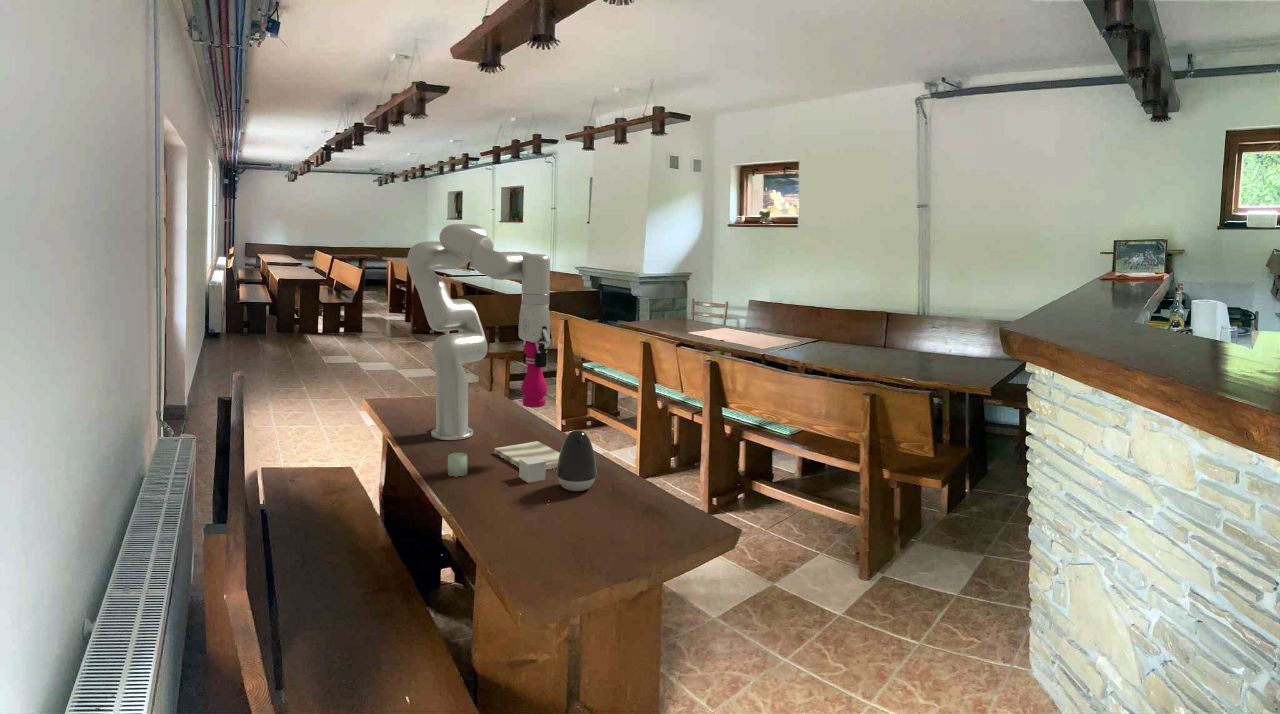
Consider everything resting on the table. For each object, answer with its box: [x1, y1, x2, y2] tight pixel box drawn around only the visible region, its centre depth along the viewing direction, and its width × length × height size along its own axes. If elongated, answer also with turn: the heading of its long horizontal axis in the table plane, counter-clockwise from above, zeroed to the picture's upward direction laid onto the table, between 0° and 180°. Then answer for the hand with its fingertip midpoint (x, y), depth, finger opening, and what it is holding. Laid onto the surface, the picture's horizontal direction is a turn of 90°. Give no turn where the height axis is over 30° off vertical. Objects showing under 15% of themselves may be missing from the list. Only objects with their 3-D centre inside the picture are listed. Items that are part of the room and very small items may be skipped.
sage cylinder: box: [447, 452, 468, 478], centre depth 194 cm, size 5×5×5 cm
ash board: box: [494, 440, 560, 471], centre depth 209 cm, size 20×14×2 cm
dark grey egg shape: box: [555, 429, 598, 492], centre depth 186 cm, size 10×10×15 cm
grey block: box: [518, 456, 547, 484], centre depth 193 cm, size 5×5×5 cm
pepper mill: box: [520, 340, 548, 408], centre depth 204 cm, size 7×7×20 cm
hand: (534, 364), depth 204 cm, fingers closed on pepper mill, 5 cm apart
